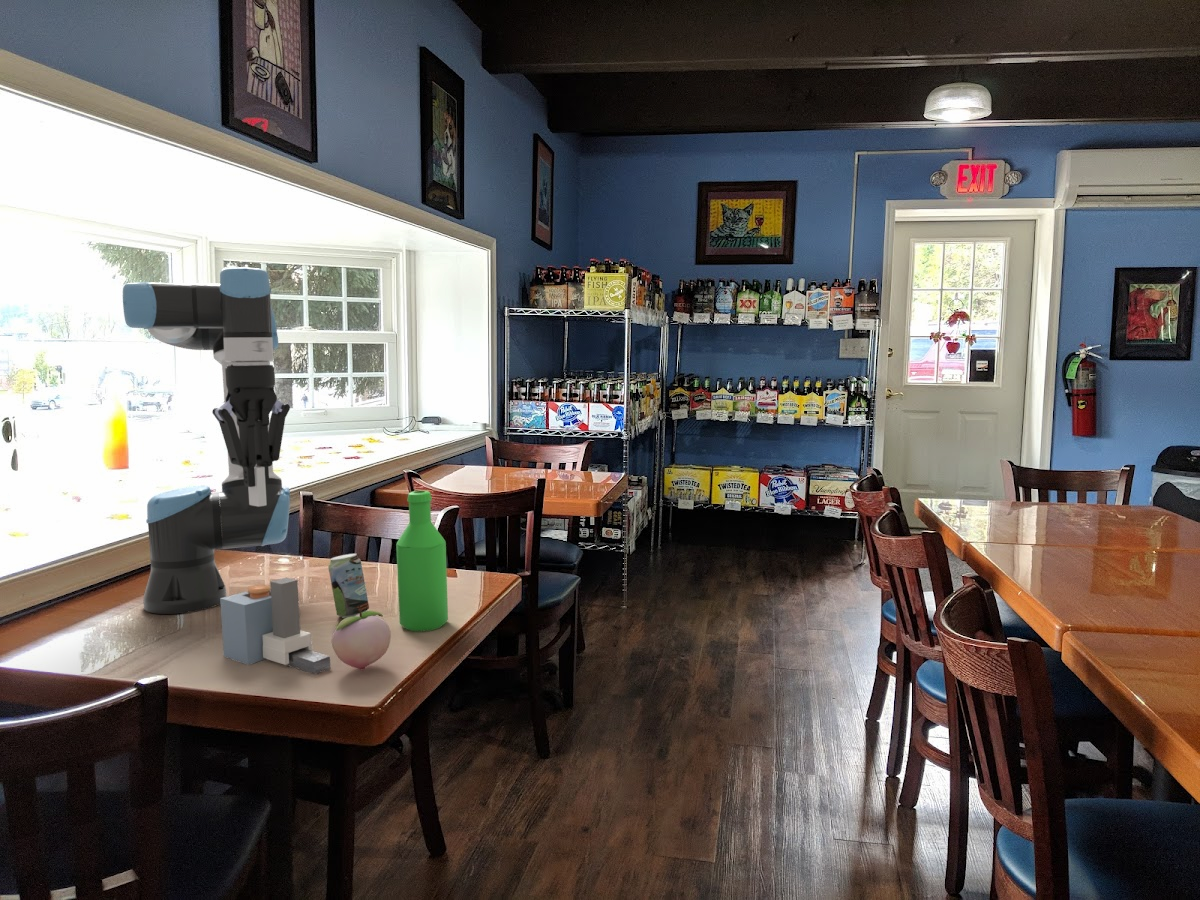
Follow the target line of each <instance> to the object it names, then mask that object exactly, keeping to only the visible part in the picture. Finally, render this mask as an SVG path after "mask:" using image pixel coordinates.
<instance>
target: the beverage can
mask: <svg viewBox="0 0 1200 900" xmlns="http://www.w3.org/2000/svg"><path fill="white" fill-rule="evenodd" d="M328 572H329V577H330V584H331V589H332V594H333V596H332V597H333V599H334V601H333V602H334V605H335V612H336V615H337V616H338V617H341V618H342V619H345V618H348V617H353V616H356V615H358V614H360V610H359V609H360V608H361V609H362V613H363V612H366V611H369V609H370V605H369V600H368V599H369V598H368V593H367V588H366V582H365V578H364V577H365V576H364V570H363V565H362V560H361V558H360V557H359V556H358V555H357V553H347V554H341V555H338V556H337V555H336V556H333V557H331V558H330V560H329V564H328Z"/></svg>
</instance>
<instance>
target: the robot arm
mask: <svg viewBox="0 0 1200 900" xmlns="http://www.w3.org/2000/svg"><path fill="white" fill-rule="evenodd" d="M270 285H271V284H270V274H269V272H268V271H266V270H265V269H263V268H257V267H256V268H255V267H226V268H223V269H221V270H220V272H219V283H174V282H173V283H171V282H169V283H168V282H167V283H165V282H149V281H141V282H129V283H128V282H127V283H126V284H124V285H123V288H122V308H123V309H122V310H123V316H124V321H125V324H126V326H128V327H129V328H133V329H144V330H148V332H149V334H150V335H151V336H153V338H154V339H156V340H158V341H159V342H162V343H164V344H166V345H170V346H173V347H176V348H182V349H186V350H195V351H212V352H213V354H212V355H213V359H214V360H215V361H216V362H217V363H219V364H220V365H221V368H222V369H221V370H222V383H223V385H222V386H223V400H224V403H223V404H222V405H221V406H220V407H217V408H216V407H215V408H213V409H212V411H211V412H212V414H213V416H214V417H215V418H216V420H217V422H218V423H219V427H220V430H221V433H222V437H223V440H224V443H225V447H226V450H227V460H228V461H227V463H228V476H227V477H226V478H225V479H224V480H223V481H222V482H221V491H220V492H212V489H211V488H210V486H208V485H197V486H196V485H195V486H188V487H182V488H181V487H180V488H177V489H172V490H168V491H164V492H162V493H159V494H155V495H154V496H152V497H151V498H150V499H149V500H148V502H147V504H146V505H147V506H146V507H147V508H146V510H147V511H146V513H147V515H146V516H147V519H146V524H147V525H148V526H147V527H148V543H149V557H150V560H149V561H150V573H149V577H148V581H147V583H146V587H145V591H144V594H143V609H144V611H145V612H147V613H151V614H159V615H174V614H186V613H187V614H188V613H193V612H198V611H202V610H206V609H207V610H208V609H211V608H213V607H216V606H218V605H221V604H220V598H223V597H227V596H228V595H227V587H226V585H225V582H224V581H223V578H222V576H221V573H220V571H219V569H218V566H217V564H216V560H215V551H216V550H226V549H228V550H229V549H235V548H236V549H237V548H246V547H247V548H249V547H259V546H261V547H264V546H267V545H273V544H274V545H276V544H279V543H282V542H283V541H284V540H285V539H286V538H287V534H288V529H289V517H290V505H291V504H290V503H291V501H290V500H291V499H290V496H291V495H290V493H291V492H290V488H289V487H287V486H283V482H282V477H280V476H278V475H277V474H276V473H275V472H274V464H273V463H274V462H277V461H278V460H279V459H280V455H281V454H280V453H281V447H282V441H283V435H284V430H285V422H286V417H287V416H288V413H289V411H290V409H291V405H290V404H288V403H283V402H281V401H280V400H279V399H278V396H277V393H276V392H275V385H276V376H275V375H276V373H275V372H276V371H275V366H274V365H273V364H271V362H273V361H274V360H275V358H274V351H275V350H277V349H278V347H279V337H278V332H277V331H278V329H277V323H276V318H275V314H274V310H273V307H272V303H271V302H272V301H271V293H272V288H271V286H270ZM271 412H272V413H271ZM270 414H271V415H270Z"/></svg>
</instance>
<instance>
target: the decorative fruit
mask: <svg viewBox="0 0 1200 900" xmlns="http://www.w3.org/2000/svg"><path fill="white" fill-rule="evenodd" d="M359 610H360V614H358V615H356V616H353V617H348V618H342V620H341V621H340V622H339V623H338V625H337V627H336V628H335V630H334V631H333V634H332V637H331V646H332V650H333V652H334V654H335V656H336V657H337V658H338V659H339V660H340V661H341V662H343V663H344V664H345V665H347V666H349V667H352V668H355V669H358V670H362V671H364V670H365V668H367V667H368V666H370V665H372V664H374V663H375V662H377V661H378V660H380V659H381V658H382V657H384V656H385V654H386V653H387V651H388V649H389V647H390V644H391V638H392V636H391V629H390V626H389V625H388V623H387V622H386V620H384V619H383V618H381V617H383V614H382V613H381V612H379V611H377V610H376V611H375V610H366V612H363V613H362V609H361V608H360V609H359Z"/></svg>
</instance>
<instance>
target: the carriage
mask: <svg viewBox="0 0 1200 900" xmlns="http://www.w3.org/2000/svg"><path fill="white" fill-rule="evenodd" d="M269 585H270V586H271V604H272V621H273V632H271V633H268V634H264V635H262V636H263V658H266V659H265V660H268V661H269V660H270V661H272V662H275V663H277V664H282V665H284V666H288V665H287V664H289V653H290V652H293V651H296V650H299V649H302V648H305V649H308V650H311V651H314V650H313V643H312V640H313V639H312V633H311V632H308V631H304V630H301V623H300V622H301V621H300V620H301V618H299V616H300V599H298V598H299V583H298V579H295V578H291V577H286V576H285V577H283V578H278V579H275V580H274V579H273V580H270V582H269Z"/></svg>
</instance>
